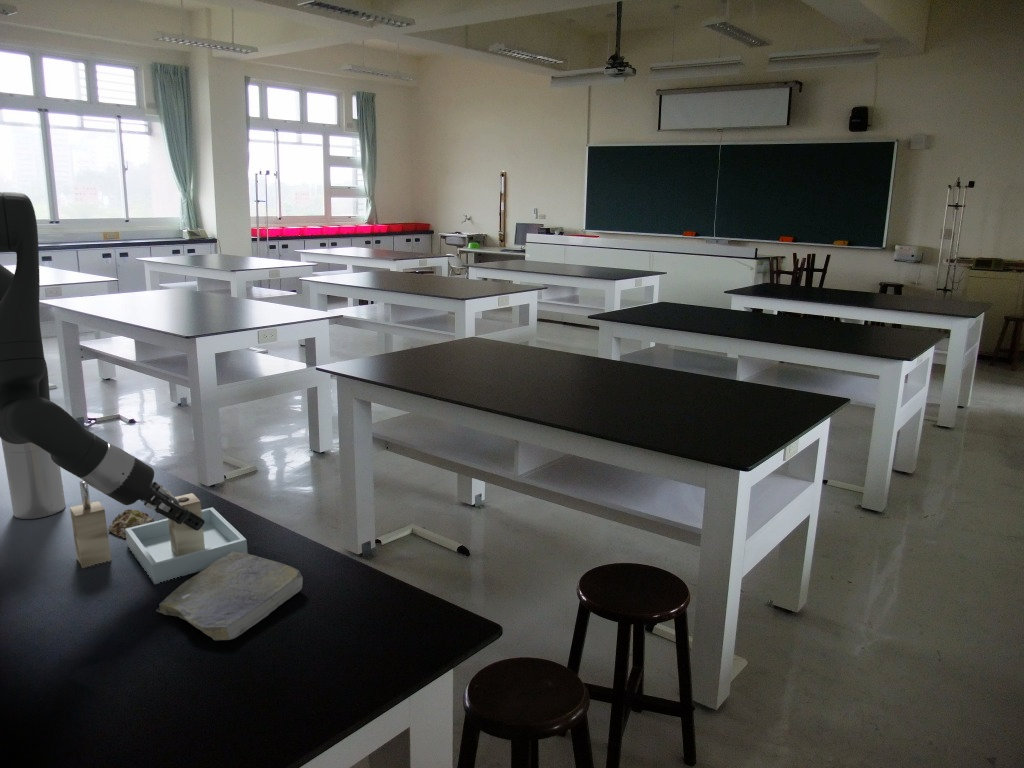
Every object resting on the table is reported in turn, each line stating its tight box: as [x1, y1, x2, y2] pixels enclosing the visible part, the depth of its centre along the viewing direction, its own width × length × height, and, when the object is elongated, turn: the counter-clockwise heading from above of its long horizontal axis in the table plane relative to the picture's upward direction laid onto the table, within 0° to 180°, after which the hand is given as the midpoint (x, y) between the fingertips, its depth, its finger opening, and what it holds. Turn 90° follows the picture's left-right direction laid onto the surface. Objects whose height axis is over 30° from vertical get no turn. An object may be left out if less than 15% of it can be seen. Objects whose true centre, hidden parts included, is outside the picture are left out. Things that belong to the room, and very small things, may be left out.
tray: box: [125, 507, 249, 585], centre depth 139 cm, size 18×16×4 cm
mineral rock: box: [107, 509, 155, 539], centre depth 148 cm, size 11×4×8 cm
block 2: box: [168, 492, 205, 557], centre depth 137 cm, size 5×5×10 cm
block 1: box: [69, 480, 112, 569], centre depth 134 cm, size 5×5×15 cm
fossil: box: [155, 551, 304, 641], centre depth 123 cm, size 20×5×17 cm
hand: (195, 520), depth 138 cm, fingers open, 5 cm apart
